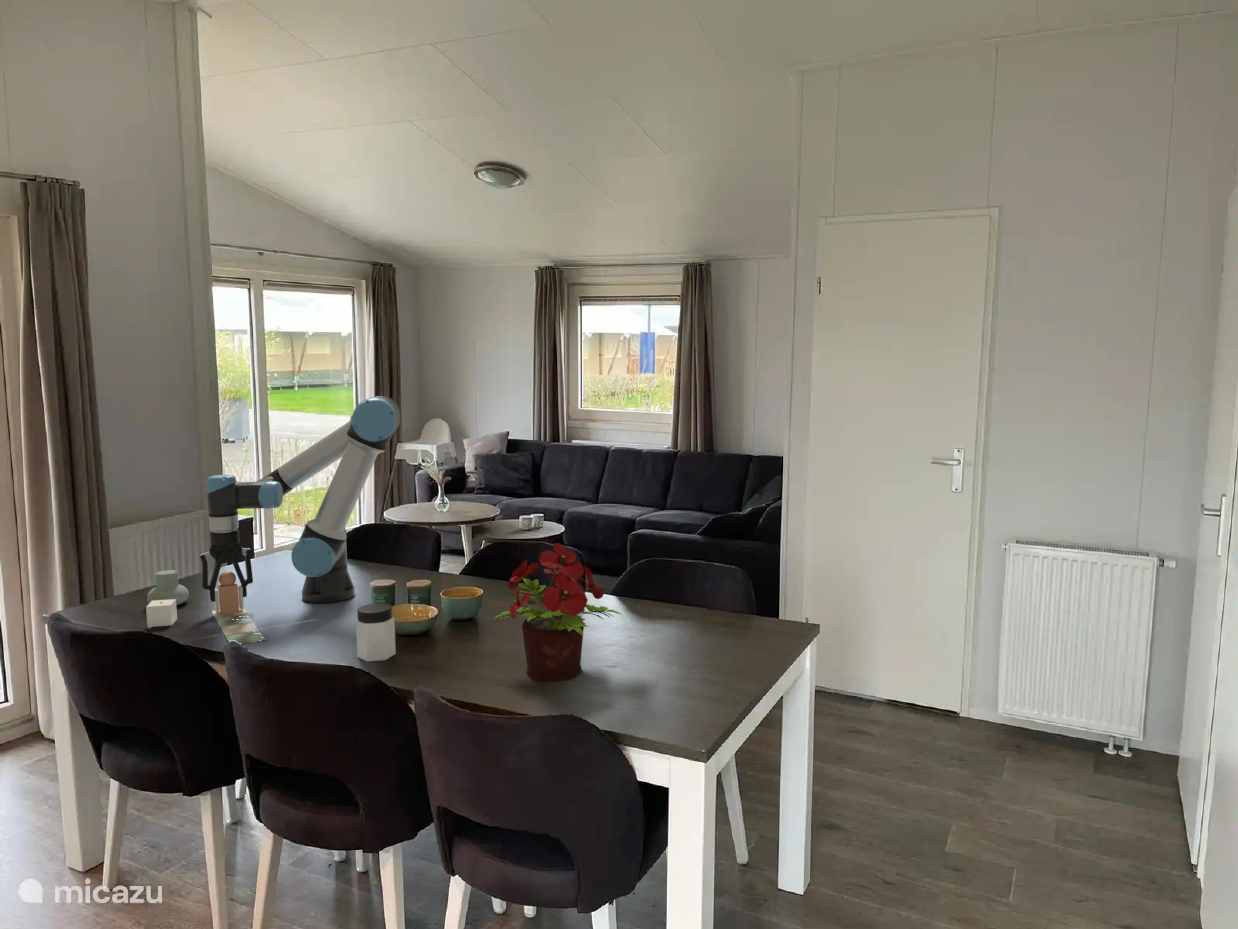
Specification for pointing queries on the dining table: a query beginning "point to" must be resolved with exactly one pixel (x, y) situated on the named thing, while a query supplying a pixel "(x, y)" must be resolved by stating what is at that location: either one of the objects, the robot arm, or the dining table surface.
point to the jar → (375, 632)
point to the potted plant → (554, 615)
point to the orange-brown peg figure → (228, 593)
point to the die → (161, 613)
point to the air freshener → (168, 588)
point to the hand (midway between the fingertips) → (229, 610)
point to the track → (238, 627)
